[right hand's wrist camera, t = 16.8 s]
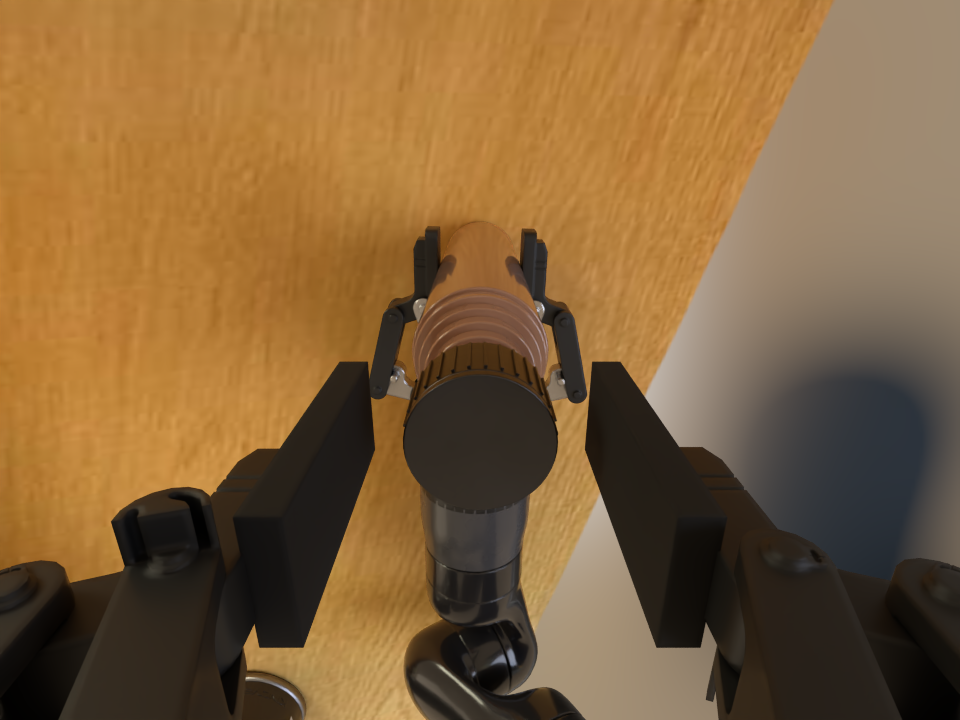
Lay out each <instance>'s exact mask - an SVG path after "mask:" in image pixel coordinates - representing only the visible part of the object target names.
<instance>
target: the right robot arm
mask: <svg viewBox="0 0 960 720" xmlns="http://www.w3.org/2000/svg"><path fill="white" fill-rule="evenodd" d="M374 451H375V443H374V431H373V419H372V407H371V395H370V383H369V371H368V362H339V364H338V365H337V367H336V368H335V369H334V371H333V372H332V374H331V375H330V377H329V378H328V380H327V381H326V382H325V384H324V385H323V387H322V388H321V390H320V391H319V393H318V394H317V395H316V397H315V398H314V400H313V401H312V403H311V404H310V406H309V407H308V408H307V410H306V411H305V413H304V414H303V416H302V417H301V419H300V420H299V422H298V423H297V424H296V426H295V427H294V429H293V430H292V432H291V433H290V435H289V436H288V437H287V439H286V440H285V442H284V443H283V445H282V446H281V448H280V449H257V450H255V451H254V452H252V453H251V454H249V455H248V456H246V457H245V458H243V459H242V460H240V461H238V463H237V464H236V465H235V466H234V468H233V469H232V470H231V471H230V473H229V474H228V475H227V478H226V479H224V480H223V481H222V483H221V484H220V485H219V486H218V488H217V491H216V492H214V493H213V494H212V495H211V496H209V495H208V494H207V493H205V492H204V491H203V490H201V489H196V488H191V487H181V488H170V489H166V490H162V491H158V492H154V493H151V494H149V495H147V496H144V497H142V498H140V499H137V500H135V501H134V502H132V503H131V504H129V505H128V506H126V507H125V508H123V509H122V510H120V511H119V513H118V514H117V515H116V516H115V517H114V519H113V520H112V521H111V523H112V527H113V530H114V533H115V536H116V540H117V543H118V546H119V549H120V552H121V556H122V559H123V562H124V565H125V567H124V569H123V571H121V572H117V573H114V574H109V575H105V576H100V577H95V578H91V579H86V580H82V581H77V582H73V583H70V582H69V579H68V577H67V574H66V571H65V568H64V567H62V566H61V565H59V564H58V563H57V562H52V561H42V560H41V561H34V562H28V563H22V564H19V565H15V566H11V567H10V568H6V569H3V570H1V571H0V720H241V719H242V710H243V700H244V691H245V682H246V672H247V665H246V658H245V653H244V648H243V646H244V644H245V642H246V640H247V638H248V636H249V634H250V632H251V630H252V628H253V626H254V624H255V628H256V633H257V638H258V643H259V648H303V647H304V645H305V642H306V639H307V636H308V634H309V631H310V628H311V625H312V623H313V620H314V617H315V614H316V611H317V609H318V606H319V603H320V600H321V598H322V595H323V592H324V589H325V587H326V584H327V581H328V578H329V575H330V573H331V570H332V567H333V564H334V562H335V559H336V556H337V553H338V551H339V548H340V545H341V542H342V540H343V537H344V534H345V531H346V528H347V526H348V523H349V520H350V517H351V515H352V512H353V509H354V506H355V504H356V501H357V498H358V495H359V492H360V490H361V487H362V484H363V481H364V479H365V476H366V473H367V470H368V468H369V465H370V462H371V459H372V456H373V454H374ZM585 451H586V454H587V456H588V459H589V462H590V465H591V468H592V470H593V473H594V476H595V479H596V481H597V484H598V487H599V490H600V492H601V495H602V498H603V501H604V504H605V506H606V509H607V512H608V514H609V517H610V520H611V523H612V526H613V528H614V531H615V534H616V537H617V539H618V542H619V545H620V548H621V550H622V553H623V556H624V559H625V562H626V564H627V567H628V570H629V573H630V575H631V578H632V581H633V584H634V587H635V589H636V592H637V595H638V598H639V600H640V603H641V606H642V609H643V611H644V614H645V617H646V620H647V622H648V625H649V628H650V631H651V634H652V636H653V639H654V642H655V645H656V647H657V648H700V647H701V642H702V638H703V633H704V628H705V623H707V625H708V627H709V629H710V631H711V633H712V635H713V637H714V639H715V641H716V643H717V649H716V653H715V657H714V662H713V666H712V671H711V675H710V680H709V684H708V689H707V696H706V700H708V701H712V702H713V700H714V695H715V691H716V699H717V708H718V718H719V720H960V568H959V567H956V566H954V565H950V564H947V563H943V562H940V561H934V560H928V559H922V558H916V559H907V560H904V561H902V562H901V563H900V564H898V565H897V566H896V568H895V571H894V574H893V577H892V579H891V581H889V580H884V579H880V578H875V577H870V576H866V575H861V574H857V573H852V572H847V571H844V570H840V569H837V568H836V566H835V565H834V563H833V562H832V560H831V559H830V558H829V556H828V555H827V554H826V553H825V552H824V551H823V550H821V549H820V548H819V547H817V546H816V545H815V544H814V543H812V542H810V541H808V540H806V539H804V538H802V537H800V536H798V535H796V534H792V533H789V532H785V531H782V530H778V529H777V528H776V526H775V525H774V524H773V523H772V522H771V520H770V519H769V518H768V517H767V515H766V514H765V513H764V512H763V510H762V509H761V508H760V507H759V505H758V504H757V503H756V502H755V500H754V499H753V498H752V497H751V495H750V494H749V493H748V492H747V491H746V490H744V487H743V485H742V484H741V483H740V482H739V480H738V479H737V478H734V474H733V473H732V472H731V471H730V469H729V468H728V467H727V466H726V464H725V463H724V462H723V461H722V460H721V459H720V458H718V457H717V456H715V455H714V454H712V453H711V452H709V451H707V450H706V449H704V448H703V447H679V446H678V445H677V443H676V442H675V440H674V439H673V437H672V436H671V435H670V433H669V432H668V430H667V429H666V427H665V426H664V424H663V423H662V422H661V420H660V419H659V417H658V416H657V414H656V413H655V411H654V410H653V408H652V407H651V406H650V404H649V403H648V401H647V400H646V398H645V397H644V395H643V394H642V393H641V391H640V390H639V388H638V387H637V385H636V384H635V382H634V381H633V380H632V378H631V377H630V375H629V374H628V372H627V371H626V369H625V368H624V367H623V365H622V364H621V362H592V371H591V383H590V395H589V407H588V419H587V431H586V443H585Z"/></svg>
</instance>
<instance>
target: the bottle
mask: <svg viewBox="0 0 960 720" xmlns="http://www.w3.org/2000/svg"><path fill="white" fill-rule="evenodd" d="M469 342H472V343H477V342H480V343H483V342H487V343H492V344H497V345H498V344H501V345H502V346H505V347H507V348H509V349H514V350H515V352H517V353H519V354H520V355H522V356H523V357H527V359H528V361H529V362H530V363H531V364H532V365H533V366H534V367H535V366H536V367H537V370H538V373H539V375H540V377H541V378H543V377H544V374H545V371H546V366H547V361H548V340H547V336H546V332H545V330H544V327H543V324H542V322H541V319H540V316H539V314H538V311H537V308H536V306H535V303H534V300H533V298H532V295H531V293H530V290H529V287H528V285H527V282H526V279H525V277H524V274H523V271H522V269H521V266H520V264H519V261H518V258H517V256H516V253H515V250H514V248H513V245H512V243H511V240H510V239H509V237H508V236H507V234H506V233H505V232H504V231H503V230H502V229H501V228H499V227H497V226H496V225H494V224H491V223H488V222H473V223H469V224H466V225H464V226H463V227H461V228H460V229H458V230H457V231H456V232H455V233H454V234H453V236H452V237H451V239H450V240H449V243H448V245H447V248H446V251H445V253H444V256H443V259H442V261H441V264H440V267H439V269H438V272H437V275H436V277H435V280H434V283H433V285H432V288H431V291H430V293H429V296H428V299H427V301H426V304H425V307H424V309H423V312H422V315H421V317H420V320H419V323H418V325H417V328H416V331H415V334H414V338H413V344H412V358H413V363H414V368H415V373H416V376H417V379H418V380H419V377H420V373H421V371H422V370H423V371H424V370H425V369H426V367H427V366H428V365H429V362H430V361H431V360H432V361H433V360H434V359H435V358H436V357H438V356H439V355H440V354H441V352H445V351H447V350H449V349H451V348H454V346H456V345H457V346H459V345H463V344H468V343H469Z"/></svg>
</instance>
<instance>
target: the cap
mask: <svg viewBox="0 0 960 720" xmlns="http://www.w3.org/2000/svg"><path fill="white" fill-rule="evenodd" d="M555 421H557V420H556V416H555V413H554V409H553V406H552V403H551V399H550V396H549V392H548V390H547V388H546V384H545V381H544V378H541V377H540V375H539V373H538V370H537V367H536V366H535V367H534V366H533V365H532V364H531V363H530V362H529V361H528V359H527V357H523V356H522V355H520V354H519V353H517V352H515V350H514V349H509V348H507V347H505V346H502V345H501V344H498V345H497V344H492V343H487V342H483V343H480V342H477V343H472V342H469V343H468V344H463V345H459V346H457V345H456V346H454V348H451V349H449V350H447V351H445V352H441V354H440V355H439V356H438V357H436V358H435V359H434V360H433V361H432V360H431V361H430V362H429V365H428V366H427V367H426V369H425V370H424V371H423V370H422V371H421V373H420V377H419V380H418V383H417V382H415V385H414V388H413V392H412V395H411V399H410V402H409V406H408V409H407V414H406V417H405V421H404V425H403V427H405V429H404V436H403V449H404V454H405V458H406V461H407V464H408V467H409V469H410V471H411V473H412V474H413V476H414V477H415V479H416V480H417V481H418V482H419V483H420V485H421V486H422V487H423V488H424V489H425V490H427V491H428V492H429V493H430V494H432V495H433V496H435V497H436V498H438V499H440V500H442V501H444V502H446V503H448V504H451V505H454V506H457V507H461V508H466V509H473V510H486V509H495V508H500V507H504V506H507V505H510V504H513V503H515V502H517V501H519V500H521V499H523V498H525V497H526V496H528V495H529V494H530V493H532V492H533V491H534V490H536V489H537V488H538V487H539V486H540V485H541V484H542V482H543V481H544V480H545V478H546V477H547V476H548V474H549V472H550V470H551V469H552V466H553V464H554V461H555V458H556V454H557V447H558V437H557V436H558V431H557V428H556V424H555Z"/></svg>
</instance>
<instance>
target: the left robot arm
mask: <svg viewBox="0 0 960 720" xmlns="http://www.w3.org/2000/svg"><path fill="white" fill-rule="evenodd" d="M547 253H548V252H547V249H546V246H545V243H544V242H543V240H542V239H537V233H536V231H535V230H534V229H522V233H521V252H520V266H521V269H522V271H523V274H524V277H525V279H526V282H527V285H528V287H529V290H530V293H531V295H532V298H533V300H534V303H535V306H536V308H537V311H538V314H539V316H540V319H541V322H542V323H545V324H547V325H550V326H552V331H553V337H554V342H555V347H556V353H557V358H558V364H554V365H552V366H551V367H550V369H549V372H548V379H547V380H546V381H545V384H546V388H547V390H548V392H549V396H550V399H551V401H554V400H559V399H564V398H568V399H569V400H570V401H571V402H572V403H581V402H583V401H584V400H585V399H586V397H587V390H586V384H585V379H584V373H583V367H582V361H581V355H580V349H579V343H578V337H577V332H576V326H575V320H574V317H573V315H572V314H571V312H570V310H569V309H568V307H567V305H566V304H565V303H563V302H556V301H553V300H551V299H549V298H547V297H546V296H545V283H546V268H547ZM440 264H441V259H440V227H435V226H428V227H427V228H426V230H425V237H419V238H418V239H417V241H416V244H415V247H414V284H415V292H414V293H413V294H412V295H410V296H408V297H405V298H396V299H393V300H392V301H391V303H390V304H389V307H388V308H387V309H386V311H385V312H384V314H383V318H382V322H381V327H380V332H379V337H378V341H377V346H376V351H375V355H374V360H373V365H372V369H371V374H370V379H369V383H370V395H371V397H372V398H374V399H382V398H384V397H385V396H386V394H387V395H391V396H395V397H400V398H404V399H408V400H410V399H411V395H412V392H413V388H414V385H415V382H417V383H418V379H416V380H415V382H414V381H411V380H410V379H409V378H408V376H407V373H406V372H407V368H406V366H405V364H404V363H403V362H401V361H398V360H397V357H398V353H399V349H400V344H401V340H402V336H403V331H404V327H405V323H408V322H411V321H414V320H417V321H418V323H419V320H420V317H421V315H422V312H423V309H424V307H425V304H426V301H427V299H428V296H429V293H430V291H431V288H432V285H433V283H434V280H435V277H436V275H437V272H438V269H439V267H440ZM420 491H421V516H422V523H423V528H424V533H425V553H426V586H427V593H428V597H429V601H430V603H431V605H432V607H433V609H434V610H435V612H436V613H437V614H438V615H439V616H440V617H441V618H443V619H442V620H440V621H438V622H436V623H434V624H432V625H430V626H428V627H426V628H424V629H423V630H421V631H420V632H419V633H417V634H416V635H415V636H414V637H413V638H412V640H411V641H410V643H409V645H408V647H407V649H406V653H405V657H404V678H405V683H406V686H407V689H408V692H409V694H410V697H411V699H412V701H413V703H414V704H415V706H416V707H417V709H418V710H419V712H420V713H421V714H422V715H423V717H424V718H425V719H426V720H585V718H584V717H583V716H582V715H581V714H580V713H579V711H578V710H577V709H576V708H575V707H574V706H573V705H572V704H571V702H570V701H569V700H568V699H567V698H566V697H565V696H563V695H562V694H561V693H560V692H558V691H557V690H555V689H552V688H547V687H542V688H535V689H531V690H527V691H524V692H520V693H516V694H512V695H507V694H509V693H510V692H512V691H513V690H515V689H516V688H518V687H519V686H521V685H522V684H523V683H524V682H525V681H526V680H527V679H528V677H529V676H530V674H531V672H532V670H533V668H534V666H535V663H536V659H537V653H538V650H537V642H536V638H535V634H534V631H533V628H532V625H531V622H530V618H529V615H528V611H527V606H526V602H525V598H524V594H523V589H522V585H521V580H520V579H521V567H522V551H523V538H524V533H525V529H526V525H527V520H528V512H529V498H530V494H529V495H528V496H526V497H525V498H523V499H521V500H519V501H517V502H515V503H513V504H510V505H507V506H504V507H500V508H495V509H486V510H473V509H466V508H461V507H457V506H454V505H451V504H448V503H446V502H444V501H442V500H440V499H438V498H436V497H435V496H433V495H432V494H430V493H429V492H428V491H427V490H425V489H424V488H423V487H422V486H421V485H420ZM305 715H306V704H305V701H304V698H303V697H302V695H301V694H300V692H299V691H298V690H297V689H296V688H295V687H294V686H292V685H291V684H290V683H288V682H287V681H285V680H283V679H281V678H279V677H276V676H273V675H270V674H265V673H257V672H248V673H246V682H245V691H244V700H243V710H242V719H241V720H304V718H305Z"/></svg>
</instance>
